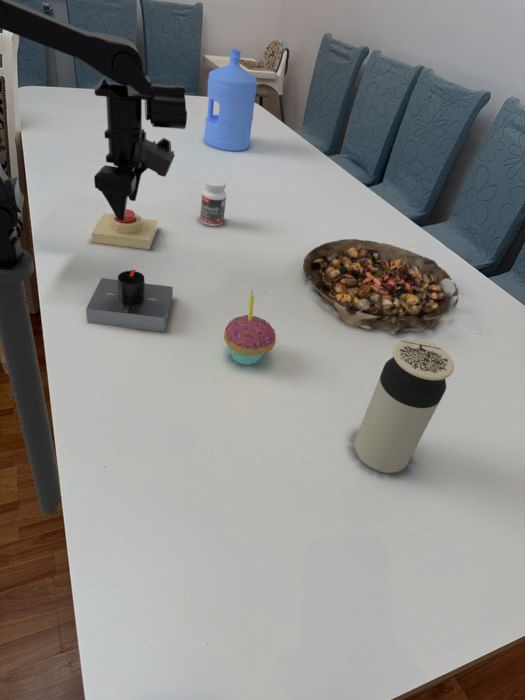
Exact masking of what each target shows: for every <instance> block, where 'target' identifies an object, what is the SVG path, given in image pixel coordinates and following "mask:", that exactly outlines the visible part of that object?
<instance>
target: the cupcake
mask: <svg viewBox="0 0 525 700" xmlns="http://www.w3.org/2000/svg"><path fill="white" fill-rule="evenodd" d="M250 293H251V294H250V295H249V303H248V314H244V315H242V316H237V317H234V318H232V320H229V322H228V323H227V325H226V326H225V329H224V333H223V340H224V341H225V343H226V345H227V347H228V348H229V349H230V352H231V357H232V359H233V360H234V362H236V363H238V364H240V365H243V366H252V365H255V364H257V363H258V362H259V361H260V359H261V358H262V357H263V355H264V354H265V353H267V352H270V351H272V350H273V349H274V347H275V346H276V342H277V340H276V337H277V334H276V329H275V328H273V326H272V325H271V324H270V322H268V321H266V319H263V318H261V317H258V316H256V315H253V313H254V312H253V311H254V302H255V294H254V290H253V289H251V292H250Z"/></svg>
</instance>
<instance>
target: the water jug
mask: <svg viewBox="0 0 525 700" xmlns="http://www.w3.org/2000/svg"><path fill="white" fill-rule="evenodd" d="M241 53H242V50H239V49H237V48H236V49H235V48H230V55H229V63H228V64H226V65H224V66H221V67H218V68H215V69H213V70H210V71H209V72H208V79H207V95H206V96H207V97H208V103H207V115H206V117H205V122H204V133H203V140H204V142H205V143H206V144H207V145H208V146H209V147H212V148H215V149H217V150H223V151H228V152H240V151H244V150H246V149H248V148H249V146H250V145H251V144H250V143H251V132H252V125H253V121H254V120H253V119H254V109H255V101H256V94H257V89H258V88H257V87H258V86H257V84H258V79H257V78H256V76H255V77H254V76H253V75H252V74H251V73H249V72H248V71H247V70H245V68H243V67H242V66H241V64H240V60H241ZM215 102H217V103H218V106H219V108H218V114H214V104H215Z"/></svg>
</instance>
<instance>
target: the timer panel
mask: <svg viewBox="0 0 525 700" xmlns="http://www.w3.org/2000/svg"><path fill="white" fill-rule="evenodd" d="M144 292H145V297H144V300H143V301H142V302H140V303H136V304H127V303H124V302H122V301H121V300H120V299H119V294H118V279H113V278H106V277H101V278H100V279H99V282H98V284H97V285H96V287H95V290H94V291H93V294H92V296H91V298H90V299H89V301H88V304H87V306H86V308H85V311H86V322H87V324H91V325H92V324H93V325H100V326H109V327H117V328H118V327H119V328H125V329H126V328H127V329H136V330H144V331H151V332H159V333H160V332H161V333H164V332H165V330H166V326H167V322H168V318H169V316H170V315H169V314H170V311H171V307H172V304H173V295H174V294H173V293H174V287H173V286H170V285H161V284H154V283H146V282H144Z"/></svg>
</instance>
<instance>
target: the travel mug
mask: <svg viewBox="0 0 525 700" xmlns="http://www.w3.org/2000/svg"><path fill="white" fill-rule="evenodd" d="M392 355H393V357H391V358H389V359H388V360H387V361H386V362H385V363H384V365H383V368H382V370H381V373H380V375H379V378H378V380H377V383H376V385H375V388H374V391H373V393H372V396H371V398H370V401H369V403H368V406H367V408H366V410H365V413H364V416H363V419H362V421H361V423H360V425H359V428H358V431H357V433H356V436H355V438H354V443H353V445H354V447H353V448H354V450H355V453H356V455H357V456H358V458H359V459H360V460H361V461H362V462H363V463H364V464H365V465H366V466H368V467H369V468H371V469H373V470H375V471H378V472H380V473H388V474H391V473H393V474H394V473H398V472H401V471H402V470H404V469H406V467H407V465H408V464H409V462H410V460H411V458H412V456H413V454H414V452H415V450H416V449H417V446H418V444H419V442H420V441H421V439H422V437H423V435H424V433H425V431H426V429H427V427H428V425H429V423H430V422H431V419H432V418H433V415H434V414H435V411H436V410H437V408H438V406H439V404H440V402H441V400H442V398H443V397H444V394H445V393H446V390H447V381H446V379H447V378H450V377H451V375H452V374H453V372H454V369H455V365H454V362H453V359H452V357H451V356H450V355H449V354H448V353H447V352H446V351H445V350H444V349H443V348H441V347H439V346H438V345H436V344H434V343H432V342H429V341H427V340H423V339H418V338H405V339H401V340H399V341H398V342H396V343H395V345H393V348H392Z"/></svg>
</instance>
